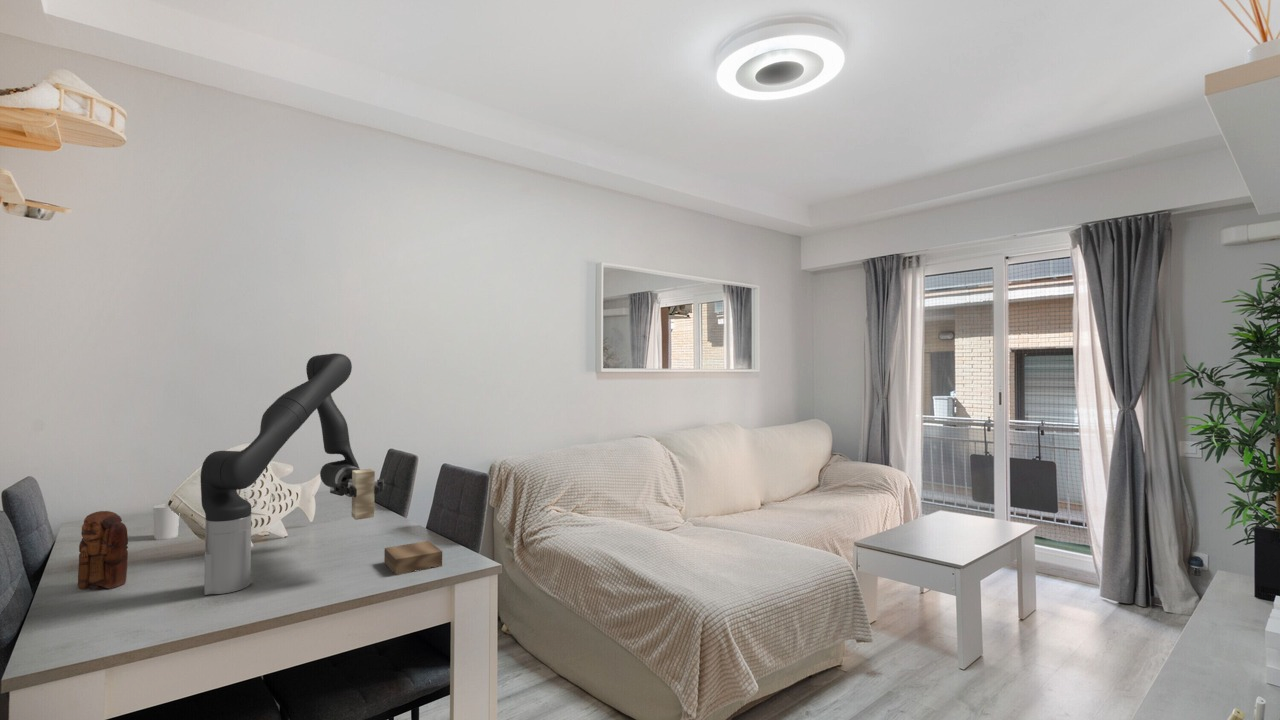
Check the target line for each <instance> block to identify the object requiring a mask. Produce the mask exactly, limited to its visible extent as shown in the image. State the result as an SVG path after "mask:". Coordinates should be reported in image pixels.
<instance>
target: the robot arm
mask: <svg viewBox="0 0 1280 720" xmlns="http://www.w3.org/2000/svg"><path fill="white" fill-rule="evenodd" d="M352 366H353V365H352V361H351V359H350V358H349V357H348V356H347V355H346V354H342V353H325V354H318V355H314V356H312V357H310V358H309V359H308V361H307V363H306V368H305V370H306V376H307V381H305V382H303V383H301V384H298V385H297V386H295V387H293V388H292V389H290V390H288V391H286V392H285V393H283V394H282V395H281V396H279V397H278V398H277V399H276V400H275V401H274V402H273V403H272V404H271V405H269V407H268V408H266V410H265V411H264V412H263V414H262V417H261V421H260V426H259V427H260V428H259V434H258V435H257V437H255V438H254V439H253V441H252V442H251V443H250V444H249V445H248V446H247V447H245V448H243V449H242V450H218V451H217V450H216V451H214V452H211V453H210V454H209V455H207V457H205V459H204V461H203V463H202V465H201V470H200V494H201V495H200V496H201V508H202V510H203V512H204V513H205V514H204V515H205V531H204V532H205V534H204V535H205V536H204V537H205V539H204V575H203V576H204V581H203V582H204V583H203V588H204V589H203V590H204V592H203V594H204V595H205V596H206V595H222V594H228V593H229V594H230V593H233V592H237V591H240V590H243V589H246V588H248V587H249V586H250V585H251V566H252V565H251V562H252V559H251V558H252V556H251V555H252V553H251V552H252V505H251V502H249V501H248V500H246V499H244V498H243V497H241V496H240V495H239V493H238V492H237V490H244V489H247V488H249V487H251V486H253V484H254V483H255V482H256V481H257V480H258V479H259V478H260V477H261V475H262V474H263V473H264V471H265V470H266V468H267V467H268V466H269V464H270V462H271V461H272V460H273V458H274V457H275V456H276V455H277V453H279V451H280V449H281V448H282V447H283V446H284V445H285V444H286V443H287V442H288V440H289V439H290V438H291V437H292V436H293V435H294V434H295V433H296V432H297V431H298V430H299V429H300V428H301V427H302V425H303V424H304V423H305V422H306V421H307V420H308V419H309V418H310V416H311V415H312V414H313V413H314V412H315V411H316V410H317V413H318V417H319V421H320V426H321V434H322V442H323V449H324V452H325V453H326V454H327V455H328V454H329V455H341V456H342V457H344V459H342V460H336V461H330V462H328V463H324V464H323V466H322V467H321V468H320V471H319V475H320V476H319V477H320V479H321V482H322V483H323V484H324V485H325V487H326V486H327V487H329V493H330V494H333V495H336V496H340V497H343V496H346V497H349V498H352V496H353V497H356V496H357V489H356V488H355V487H354V486H352V471H353V470H361V469H360V466H359V463H358V461H357V459H356V458H355V455H354V453H353V451H352V450H353V449H352V447H351V442H350V441H351V440H350V433H349V427H348V423H347V420H346V418H345V416H344V415H343V414H342V412H341V410H340V409H339V407H338V406H337V405H336V403H335V401H334V399H333V395H332V393H334V392H335V391H336V390H337V389H338V388H340V387H341V386H342V385H343V384H344V383H346V382H347V380H348V379H349V378H350V376H351V373H352V371H353V370H352V368H353V367H352ZM384 488H385V478H383V477H381V478H378V479H377V480H375V486H374V496H375V495H378V494H379V493H380V492H383V491H384Z"/></svg>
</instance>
